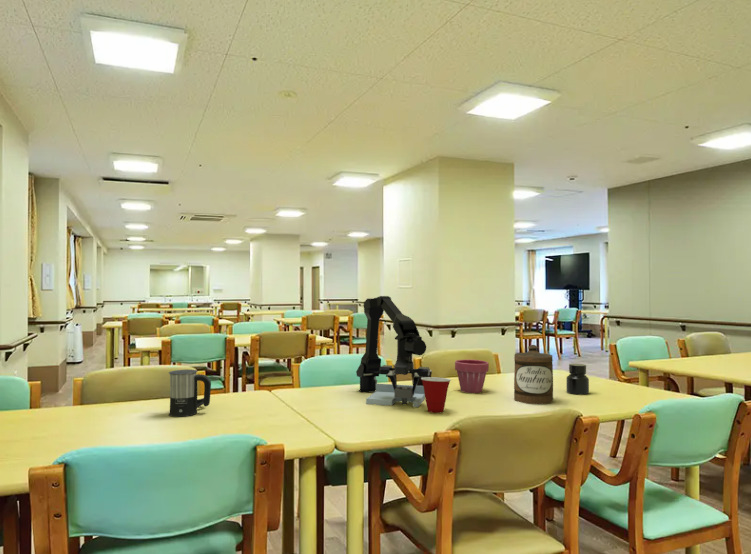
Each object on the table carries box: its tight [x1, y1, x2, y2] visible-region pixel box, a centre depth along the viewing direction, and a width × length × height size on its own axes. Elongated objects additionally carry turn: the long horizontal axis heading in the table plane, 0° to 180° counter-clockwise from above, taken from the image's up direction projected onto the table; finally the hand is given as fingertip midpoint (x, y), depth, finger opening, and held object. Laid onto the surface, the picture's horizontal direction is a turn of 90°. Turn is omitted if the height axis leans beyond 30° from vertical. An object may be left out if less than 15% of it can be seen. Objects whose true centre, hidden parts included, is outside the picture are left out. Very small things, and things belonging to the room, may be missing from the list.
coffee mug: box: [410, 369, 433, 386], centre depth 222 cm, size 12×9×10 cm
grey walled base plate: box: [365, 383, 425, 408], centre depth 207 cm, size 20×16×5 cm
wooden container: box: [513, 344, 554, 405], centre depth 211 cm, size 15×15×22 cm
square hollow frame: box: [394, 386, 414, 398], centre depth 202 cm, size 6×6×3 cm
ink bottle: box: [566, 363, 590, 395], centre depth 227 cm, size 10×9×12 cm
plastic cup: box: [421, 376, 452, 414], centre depth 192 cm, size 11×11×12 cm
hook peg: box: [401, 388, 408, 405], centre depth 202 cm, size 2×2×6 cm
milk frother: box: [168, 369, 212, 418], centre depth 188 cm, size 14×16×15 cm
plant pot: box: [454, 359, 490, 394], centre depth 229 cm, size 14×14×13 cm
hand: (404, 393), depth 202 cm, fingers closed on square hollow frame, 6 cm apart
